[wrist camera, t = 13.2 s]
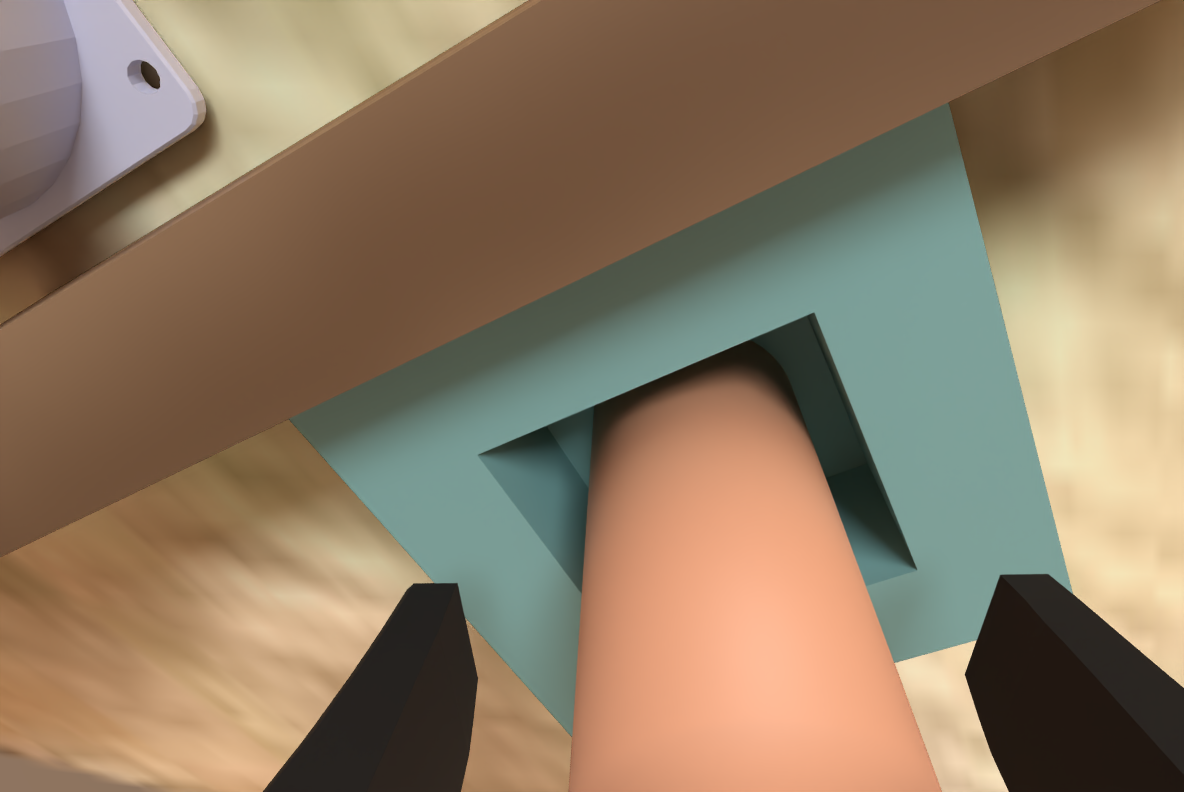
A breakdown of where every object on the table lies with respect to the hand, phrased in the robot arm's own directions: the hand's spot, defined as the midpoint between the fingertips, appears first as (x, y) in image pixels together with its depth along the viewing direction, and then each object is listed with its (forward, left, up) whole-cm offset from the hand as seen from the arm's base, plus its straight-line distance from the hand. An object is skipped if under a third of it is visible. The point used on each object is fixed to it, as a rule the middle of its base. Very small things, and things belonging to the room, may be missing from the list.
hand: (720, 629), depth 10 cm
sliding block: (0, 0, -6) cm, 6 cm away
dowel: (0, 0, -5) cm, 5 cm away
